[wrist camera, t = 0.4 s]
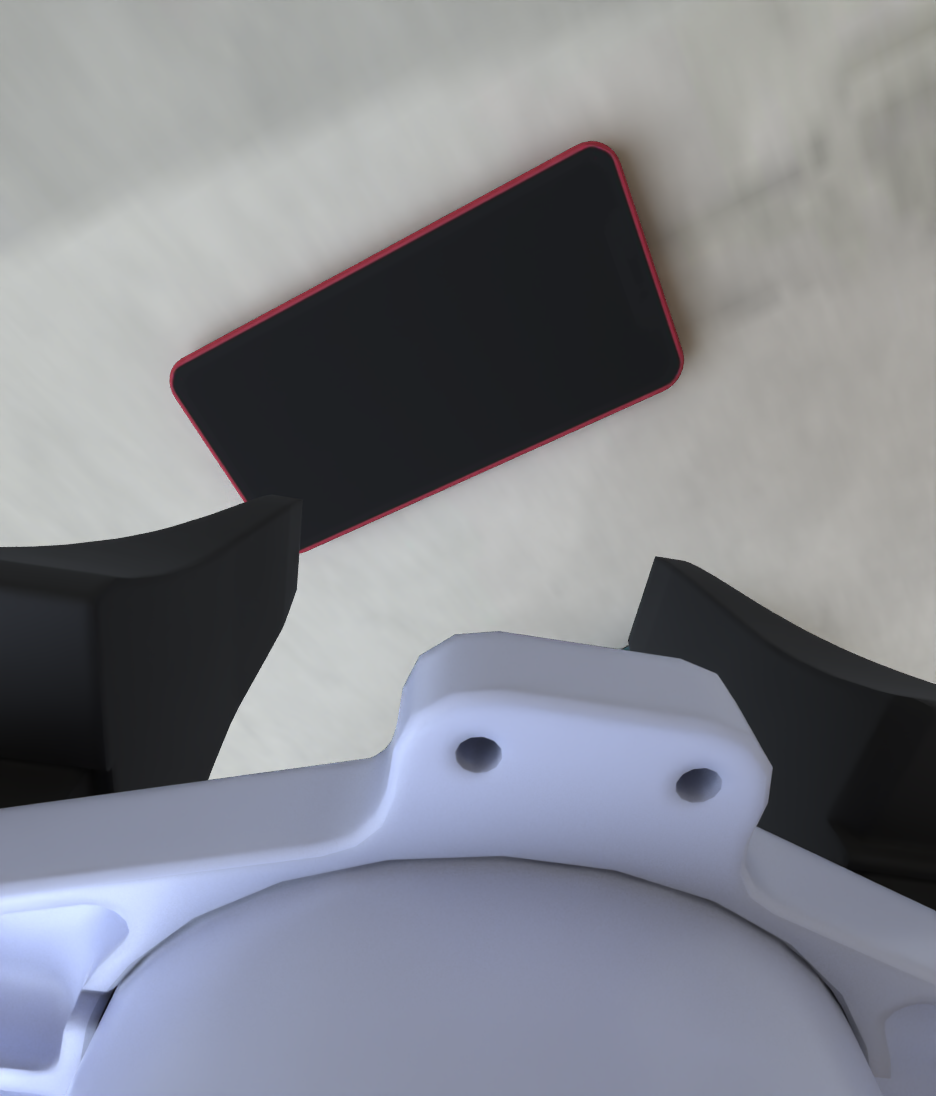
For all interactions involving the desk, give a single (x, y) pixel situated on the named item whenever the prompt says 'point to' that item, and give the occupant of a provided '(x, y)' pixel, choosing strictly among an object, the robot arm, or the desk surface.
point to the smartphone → (442, 351)
